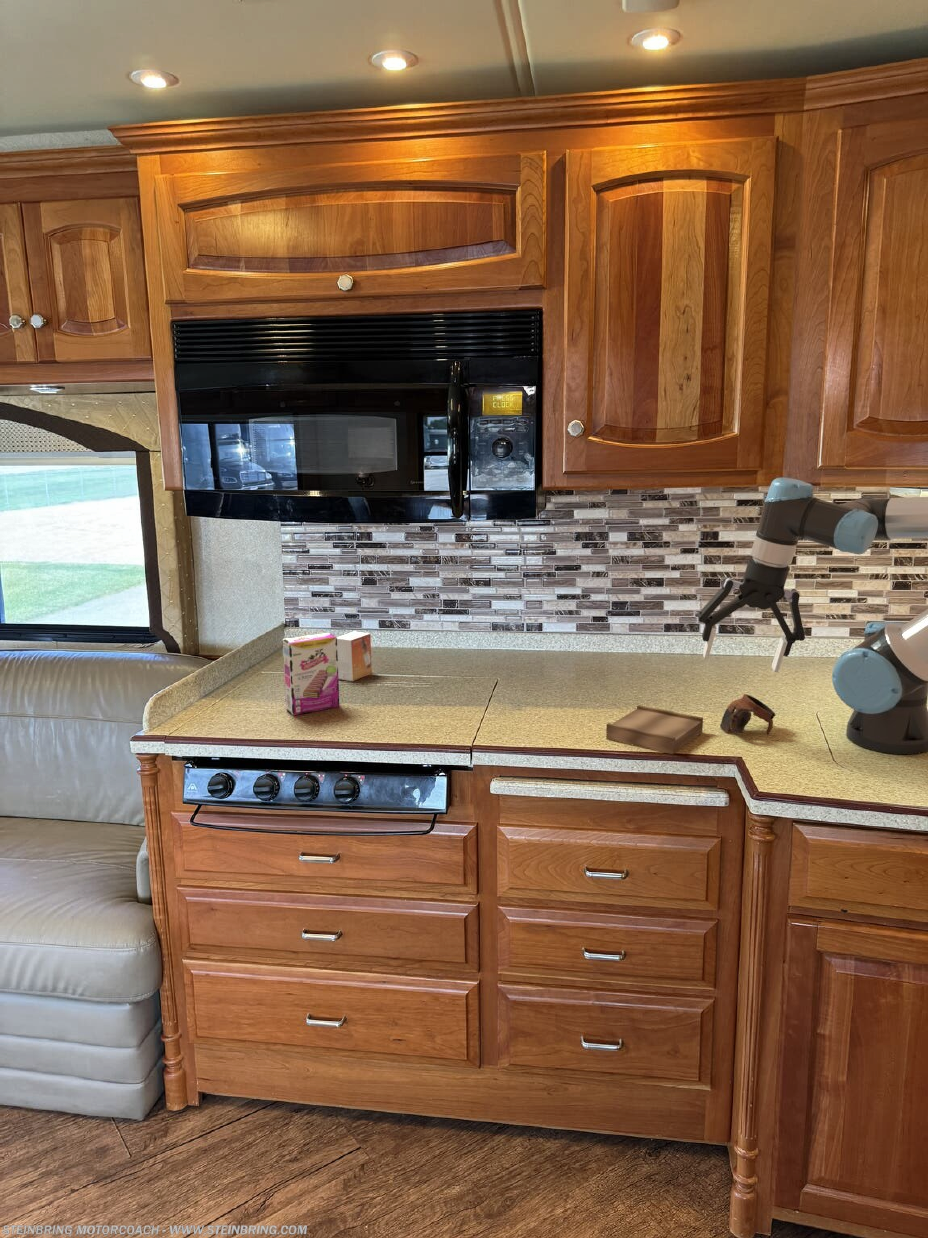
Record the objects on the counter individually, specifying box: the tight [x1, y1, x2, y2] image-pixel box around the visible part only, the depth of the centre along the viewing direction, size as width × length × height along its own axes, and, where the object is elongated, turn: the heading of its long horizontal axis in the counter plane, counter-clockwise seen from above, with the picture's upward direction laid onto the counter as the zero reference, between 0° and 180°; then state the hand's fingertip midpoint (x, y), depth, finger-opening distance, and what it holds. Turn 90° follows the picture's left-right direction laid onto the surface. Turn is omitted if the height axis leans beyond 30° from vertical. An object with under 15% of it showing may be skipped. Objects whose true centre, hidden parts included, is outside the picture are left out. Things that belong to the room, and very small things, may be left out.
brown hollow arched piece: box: [719, 693, 776, 735], centre depth 174 cm, size 12×10×8 cm
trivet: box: [605, 704, 704, 755], centre depth 173 cm, size 14×14×3 cm
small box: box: [336, 630, 373, 682], centre depth 216 cm, size 8×6×10 cm
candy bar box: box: [281, 632, 340, 716], centre depth 192 cm, size 11×5×16 cm, turn 121°
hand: (739, 663), depth 171 cm, fingers open, 13 cm apart
